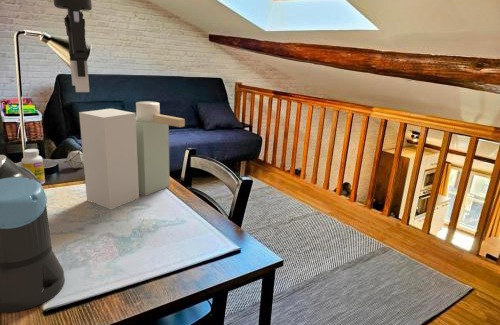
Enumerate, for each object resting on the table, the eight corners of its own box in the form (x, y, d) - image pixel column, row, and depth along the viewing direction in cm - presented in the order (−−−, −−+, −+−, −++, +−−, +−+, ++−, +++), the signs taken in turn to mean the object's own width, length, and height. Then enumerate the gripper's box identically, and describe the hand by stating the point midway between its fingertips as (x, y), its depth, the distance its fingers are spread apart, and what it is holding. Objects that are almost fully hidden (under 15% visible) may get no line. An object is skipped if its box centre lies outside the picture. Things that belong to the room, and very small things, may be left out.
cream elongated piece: (190, 125, 123) (190, 107, 121) (173, 128, 117) (173, 110, 115) (148, 117, 133) (148, 100, 131) (131, 119, 127) (130, 102, 125)
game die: (82, 177, 153) (87, 162, 148) (60, 171, 150) (65, 156, 144) (86, 161, 159) (91, 147, 154) (65, 156, 156) (70, 141, 150)
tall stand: (139, 198, 126) (135, 113, 117) (110, 209, 116) (103, 117, 108) (116, 190, 132) (111, 108, 123) (87, 200, 122) (79, 112, 114)
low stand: (169, 186, 139) (168, 119, 131) (145, 195, 129) (143, 123, 121) (147, 179, 144) (145, 115, 137) (123, 187, 135) (119, 118, 127)
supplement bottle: (36, 187, 130) (31, 153, 127) (20, 185, 132) (15, 151, 128) (49, 181, 137) (45, 149, 133) (34, 179, 138) (30, 147, 134)
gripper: (51, -7, 87) (60, 83, 93) (52, -21, 66) (64, 95, 73) (85, -3, 91) (92, 83, 97) (96, -16, 70) (104, 95, 76)
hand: (80, 88), depth 85 cm, fingers open, 13 cm apart
